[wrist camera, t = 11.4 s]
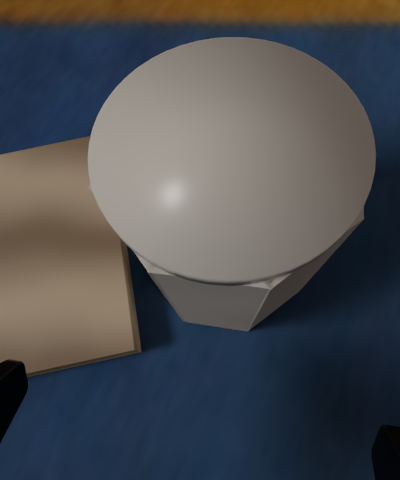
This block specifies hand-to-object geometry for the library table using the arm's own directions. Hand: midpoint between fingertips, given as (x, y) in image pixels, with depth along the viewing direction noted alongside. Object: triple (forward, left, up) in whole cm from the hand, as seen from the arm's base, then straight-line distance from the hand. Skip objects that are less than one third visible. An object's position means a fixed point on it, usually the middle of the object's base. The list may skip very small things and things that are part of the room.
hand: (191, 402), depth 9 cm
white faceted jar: (+5, -4, -8) cm, 11 cm away
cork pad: (+11, +6, -8) cm, 15 cm away
